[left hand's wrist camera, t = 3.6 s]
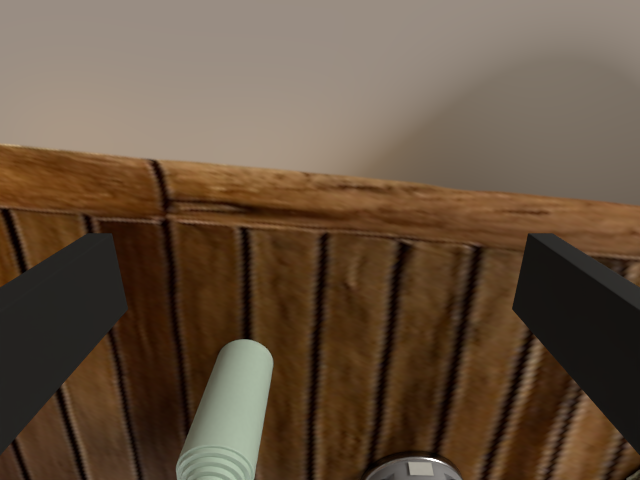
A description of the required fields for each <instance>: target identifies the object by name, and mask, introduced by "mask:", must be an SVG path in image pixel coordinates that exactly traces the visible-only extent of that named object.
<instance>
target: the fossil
mask: <svg viewBox="0 0 640 480" xmlns="http://www.w3.org/2000/svg"><path fill="white" fill-rule="evenodd" d="M627 480H640V469H639V470H638V471H637V472H636V473H634V474H633V475H631V476H630V477H628V478H627Z"/></svg>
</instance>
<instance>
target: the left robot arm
mask: <svg viewBox="0 0 640 480" xmlns="http://www.w3.org/2000/svg"><path fill="white" fill-rule="evenodd" d="M127 310H128V307H127V303H126V298H125V293H124V288H123V284H122V279H121V274H120V270H119V265H118V260H117V256H116V251H115V246H114V242H113V237H112V233H87V234H86V235H84V236H83V237H81V238H79V239H78V240H76V241H75V242H73V243H71V244H70V245H68V246H66V247H65V248H63V249H62V250H60V251H58V252H57V253H55V254H54V255H52V256H50V257H49V258H47V259H46V260H44V261H42V262H41V263H39V264H37V265H36V266H34V267H33V268H31V269H29V270H28V271H26V272H25V273H23V274H21V275H20V276H18V277H16V278H15V279H13V280H12V281H10V282H8V283H7V284H5V285H4V286H2V287H0V455H1V454H2V453H3V451H4V450H5V449H6V448H7V447H8V446H9V445H10V443H11V442H12V441H13V440H14V439H15V438H16V437H17V435H18V434H19V433H20V432H21V431H22V430H23V429H24V427H25V426H26V425H27V424H28V423H29V422H30V421H31V419H32V418H33V417H34V416H35V415H36V414H37V413H38V411H39V410H40V409H41V408H42V407H43V406H44V404H45V403H46V402H47V401H48V400H49V399H50V398H51V396H52V395H53V394H54V393H55V392H56V391H57V390H58V388H59V387H60V386H61V385H62V384H63V383H64V382H65V380H66V379H67V378H68V377H69V376H70V375H71V374H72V372H73V371H74V370H75V369H76V368H77V367H78V366H79V364H80V363H81V362H82V361H83V360H84V359H85V358H86V356H87V355H88V354H89V353H90V352H91V351H92V350H93V348H94V347H95V346H96V345H97V344H98V343H99V342H100V340H101V339H102V338H103V337H104V336H105V335H106V334H107V332H108V331H109V330H110V329H111V328H112V327H113V326H114V324H115V323H116V322H117V321H118V320H119V319H120V318H121V316H122V315H123V314H124V313H125V312H126V311H127ZM512 310H513V311H514V312H515V313H516V314H517V315H518V316H519V318H520V319H521V320H522V321H523V322H524V323H525V324H526V326H527V327H528V328H529V329H530V330H531V331H532V332H533V334H534V335H535V336H536V337H537V338H538V339H539V340H540V342H541V343H542V344H543V345H544V346H545V347H546V348H547V350H548V351H549V352H550V353H551V354H552V355H553V356H554V358H555V359H556V360H557V361H558V362H559V363H560V364H561V366H562V367H563V368H564V369H565V370H566V371H567V372H568V374H569V375H570V376H571V377H572V378H573V379H574V380H575V382H576V383H577V384H578V385H579V386H580V387H581V388H582V390H583V391H584V392H585V393H586V394H587V395H588V396H589V398H590V399H591V400H592V401H593V402H594V403H595V404H596V406H597V407H598V408H599V409H600V410H601V411H602V413H603V414H604V415H605V416H606V417H607V418H608V419H609V421H610V422H611V423H612V424H613V425H614V426H615V427H616V429H617V430H618V431H619V432H620V433H621V434H622V435H623V437H624V438H625V439H626V440H627V441H628V442H629V443H630V445H631V446H632V447H633V448H634V449H635V450H636V451H637V453H638V454H639V455H640V287H638V286H636V285H635V284H633V283H632V282H630V281H628V280H627V279H625V278H624V277H622V276H620V275H619V274H617V273H615V272H614V271H612V270H611V269H609V268H607V267H606V266H604V265H603V264H601V263H599V262H598V261H596V260H594V259H593V258H591V257H590V256H588V255H586V254H585V253H583V252H582V251H580V250H578V249H577V248H575V247H574V246H572V245H570V244H569V243H567V242H565V241H564V240H562V239H561V238H559V237H557V236H556V235H554V234H553V233H528V237H527V242H526V246H525V251H524V256H523V260H522V265H521V270H520V274H519V279H518V284H517V288H516V293H515V298H514V303H513V307H512ZM361 480H463V479H462V476H461V474H460V471H459V470H458V468H457V467H456V466H455V465H454V464H453V463H452V462H450V461H449V460H448V459H446V458H444V457H442V456H440V455H437V454H433V453H429V452H422V451H408V452H401V453H397V454H393V455H390V456H387V457H385V458H383V459H381V460H379V461H378V462H376V463H375V464H373V465H372V466H371V467H370V468H369V469H368V470H367V471H366V472H365V474H364V475H363V477H362V479H361Z"/></svg>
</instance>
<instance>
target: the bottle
mask: <svg viewBox="0 0 640 480" xmlns="http://www.w3.org/2000/svg"><path fill="white" fill-rule="evenodd" d="M272 369H273V359H272V356H271V354H270V352H269V351H268V350H267V349H266V348H265V347H264V346H263V345H261V344H260V343H258V342H255V341H252V340H246V339H242V340H235V341H232V342H230V343H228V344H226V345H225V346H224V347H223V348H222V349H221V351H220V353H219V355H218V357H217V360H216V363H215V365H214V368H213V370H212V373H211V376H210V378H209V381H208V384H207V386H206V389H205V391H204V394H203V397H202V399H201V402H200V404H199V407H198V410H197V412H196V415H195V418H194V420H193V423H192V425H191V428H190V431H189V433H188V436H187V438H186V441H185V444H184V446H183V449H182V452H181V454H180V457H179V459H178V462H177V466H176V474H177V480H254V476H255V470H256V464H257V458H258V452H259V446H260V440H261V434H262V428H263V422H264V417H265V411H266V405H267V399H268V393H269V387H270V381H271V375H272Z"/></svg>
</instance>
